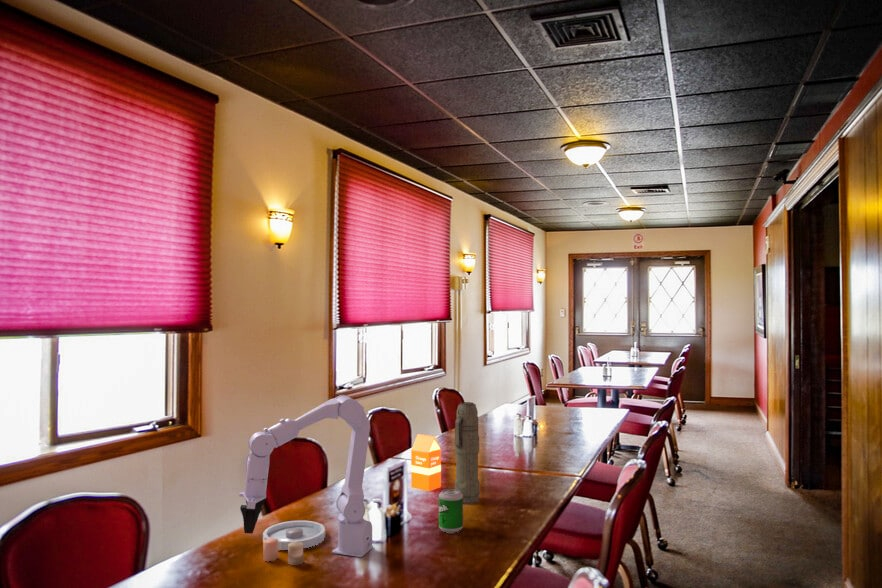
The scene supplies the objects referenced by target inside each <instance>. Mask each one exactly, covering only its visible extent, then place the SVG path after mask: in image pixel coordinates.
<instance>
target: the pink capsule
mask: <svg viewBox="0 0 882 588" xmlns="http://www.w3.org/2000/svg"><path fill="white" fill-rule="evenodd" d="M262 543H263V544H262V547H263V549H262V552H263V553H262V557H263V559H262V560H264V561H263V562H265V561H267V562H266V563H270V562H269V561H273V562H275V561H274V560H276V559H277V558H278V559H279V550H278V539H275V538H271V539H266V540H264V541H263V540H262ZM276 561H277V560H276Z"/></svg>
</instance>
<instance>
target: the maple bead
mask: <svg viewBox="0 0 882 588" xmlns="http://www.w3.org/2000/svg"><path fill="white" fill-rule="evenodd" d="M302 563H304V549H303V543H301V542H293V543H290V544H288V551H287V565H288V564H290V565H299V564H301V565H303V564H302ZM290 565H289V566H290ZM299 566H300V565H299Z"/></svg>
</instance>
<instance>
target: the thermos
mask: <svg viewBox="0 0 882 588" xmlns="http://www.w3.org/2000/svg"><path fill="white" fill-rule="evenodd" d="M478 413H479V411H478V408H477V405H476V403H474V402H470V401H468V402H466V401H465V402H460V403H458V405H457V409H456V418H455V422H454V451H455V456H456V458H455V459H456V460H455V467H456V469H455V473H456V475H455V480H454V489H456V490H459V491H460V492H461V493H462V495H463V505H472V504H471V503H475V504H478V503H479V502H480V494H481V493H480V488H481V487H480V480H479V454H480V435H479V416H478ZM478 501H479V502H478ZM477 502H478V503H477Z"/></svg>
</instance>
